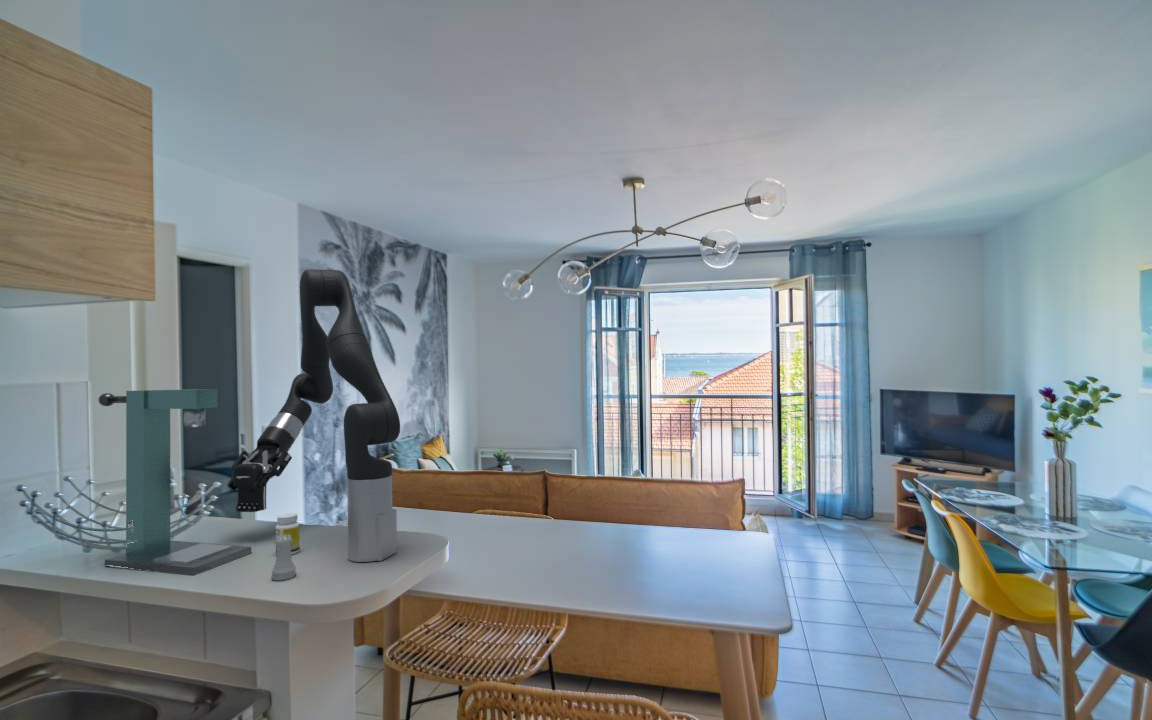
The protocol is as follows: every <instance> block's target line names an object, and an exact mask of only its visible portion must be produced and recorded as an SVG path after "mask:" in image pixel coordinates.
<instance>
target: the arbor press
mask: <svg viewBox="0 0 1152 720" xmlns="http://www.w3.org/2000/svg"><path fill="white" fill-rule="evenodd" d="M125 394H126V395H114V394H113V393H109V392H108V393H107V392H106V393H102V394H101V395H100V396H99V397H98V403H99V405H101V406H102V407H111V406H112V405H114V404H125V406H126V407H125V408H126V409H125V413H126V414H125V416H126V418H125V419H126V420H125V422H126V423H125V425H126V426H125V428H126V433H125V434H126V436H125V438H126V441H125V442H126V445H125V449H126V451H125V453H126V454H125V455H126V457H125V458H126V459H125V461H126V462H125V466H126V467H125V478H126V480H125V483H126V485H125V493H126V494H125V496H126V497H125V510H126V511H125V541H126V540H138V541H137V542H134V543H129V544H127V547H128V548H127V549H126V548H125V553H122V554H119V555H115V556H112V557H109V558H105V559H104V566H105V565H113V566H121V567H128V568H134V569H141V570H140V571H144V570H150V571H149V572H154V571H158V572H157V573H165V572H166V573H167V574H175V575H176V574H179V575H186V576H187V575H188V576H189V575H190V576H195V575H198V574H200V573H203V572H206V571H209V570H211V569H214V568H216V567H219V566H222V565H224V564H227V563H230V562H232V561H235V560H237V559H240V558H243V557H246V556H248V555H250V554H252V546H248V545H235V544H225V543H224V544H221V543H210V542H209V543H208V542H198V541H197V542H194V541H180V540H171V410H173V409H174V410H176V409H177V410H182V427H183V428H198V427H201V428H202V427H206V409H210V408H218V388H213V389H212V388H207V389H205V388H203V389H202V388H201V389H200V388H199V389H197V388H196V389H149V390H147V389H146V390H141V389H140V390H126V393H125ZM131 520H133V521H131ZM128 521H130V522H133V526H134V530H133V533H132V531H131V530H130V529H129V530H126V528H128V527H129V526H128ZM166 573H165V574H166Z"/></svg>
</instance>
